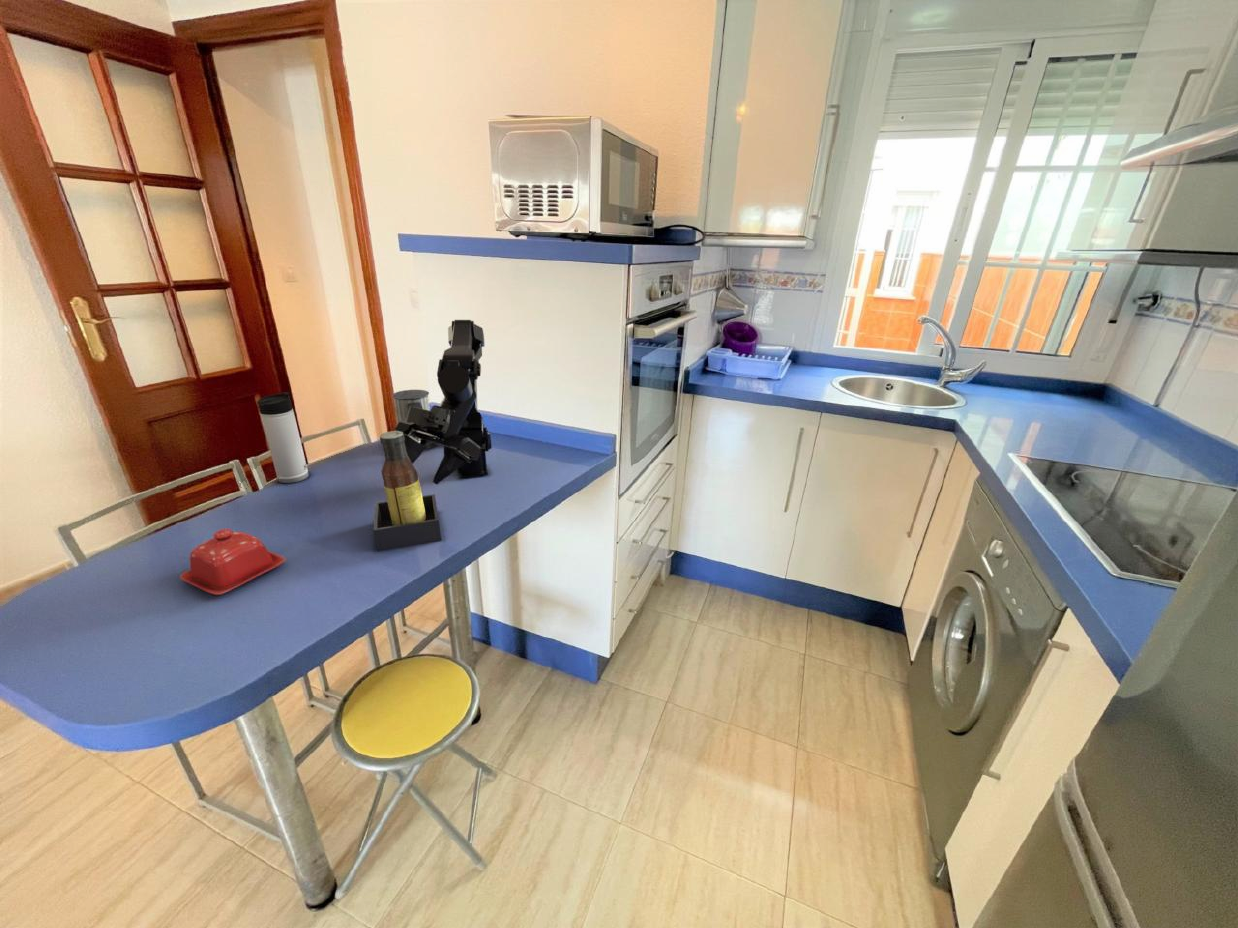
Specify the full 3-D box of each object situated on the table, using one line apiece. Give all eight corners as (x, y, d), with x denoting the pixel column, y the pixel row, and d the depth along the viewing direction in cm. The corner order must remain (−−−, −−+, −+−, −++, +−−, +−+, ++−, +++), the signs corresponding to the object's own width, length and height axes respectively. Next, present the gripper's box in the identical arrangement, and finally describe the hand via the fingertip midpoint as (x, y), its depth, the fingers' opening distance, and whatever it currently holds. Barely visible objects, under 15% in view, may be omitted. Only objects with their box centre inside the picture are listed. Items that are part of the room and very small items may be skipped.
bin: (437, 512, 106) (434, 494, 104) (441, 540, 96) (438, 519, 95) (379, 521, 102) (375, 502, 100) (377, 551, 92) (373, 530, 90)
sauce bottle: (432, 521, 102) (419, 429, 94) (418, 537, 96) (403, 441, 88) (401, 519, 102) (385, 427, 94) (385, 535, 96) (367, 439, 88)
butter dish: (250, 548, 92) (237, 507, 88) (291, 565, 87) (279, 523, 84) (177, 582, 82) (160, 538, 79) (219, 604, 78) (202, 558, 74)
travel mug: (316, 475, 120) (297, 394, 112) (289, 485, 115) (267, 401, 107) (298, 469, 123) (279, 390, 115) (271, 480, 117) (249, 397, 109)
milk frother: (394, 444, 139) (385, 392, 133) (445, 431, 150) (440, 383, 144) (419, 459, 131) (411, 405, 125) (472, 444, 141) (467, 393, 135)
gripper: (395, 381, 100) (355, 450, 96) (464, 397, 92) (425, 473, 88) (431, 409, 110) (396, 472, 105) (496, 425, 102) (462, 494, 97)
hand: (418, 477), depth 99 cm, fingers open, 9 cm apart
